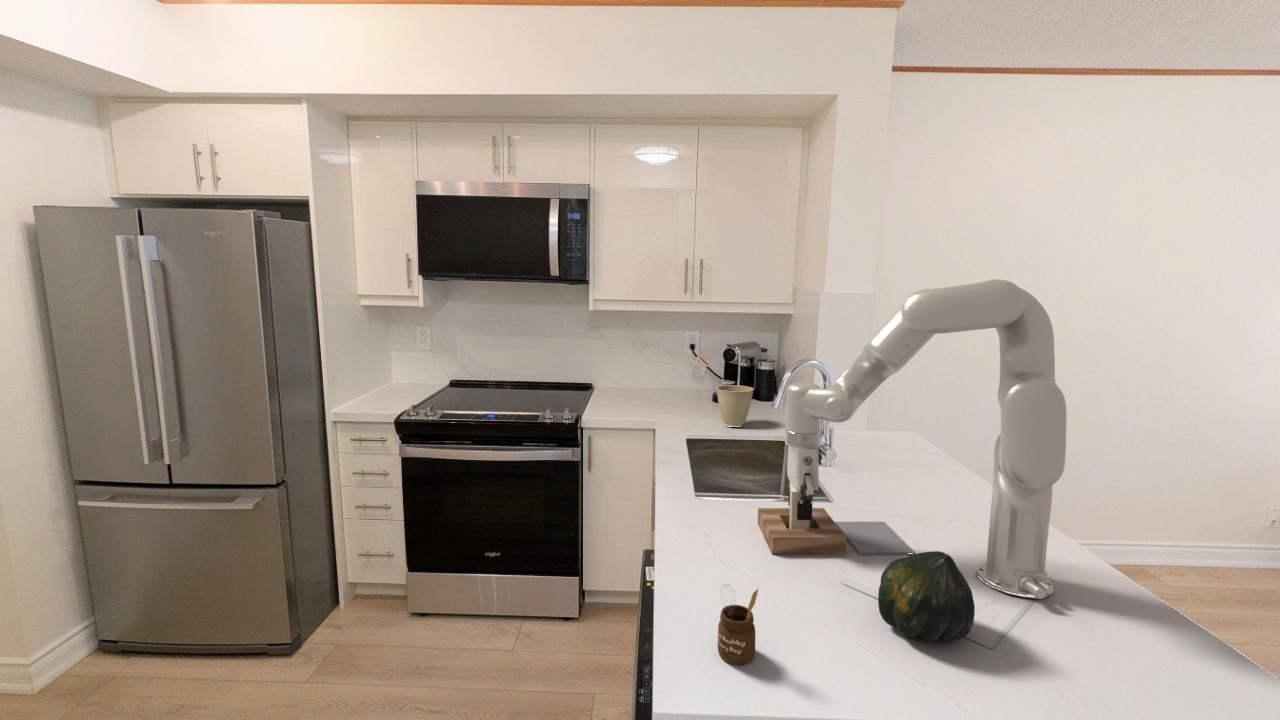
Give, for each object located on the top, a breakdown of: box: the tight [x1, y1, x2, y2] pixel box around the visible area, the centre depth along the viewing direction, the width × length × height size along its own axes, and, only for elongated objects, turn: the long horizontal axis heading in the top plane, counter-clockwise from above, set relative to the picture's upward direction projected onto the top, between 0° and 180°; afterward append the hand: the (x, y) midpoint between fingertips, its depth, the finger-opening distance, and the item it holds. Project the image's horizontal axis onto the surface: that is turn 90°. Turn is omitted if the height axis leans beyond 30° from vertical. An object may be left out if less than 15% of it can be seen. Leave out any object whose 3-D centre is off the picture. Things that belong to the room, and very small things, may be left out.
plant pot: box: [716, 384, 754, 426], centre depth 233 cm, size 15×15×16 cm
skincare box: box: [789, 482, 810, 529], centre depth 131 cm, size 6×4×12 cm
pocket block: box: [757, 507, 847, 556], centre depth 131 cm, size 16×16×4 cm
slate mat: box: [834, 521, 916, 556], centre depth 132 cm, size 16×12×1 cm
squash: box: [877, 550, 976, 642], centre depth 96 cm, size 14×15×15 cm
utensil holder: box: [717, 583, 759, 665], centre depth 90 cm, size 6×6×12 cm
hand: (799, 512), depth 131 cm, fingers closed on skincare box, 6 cm apart
